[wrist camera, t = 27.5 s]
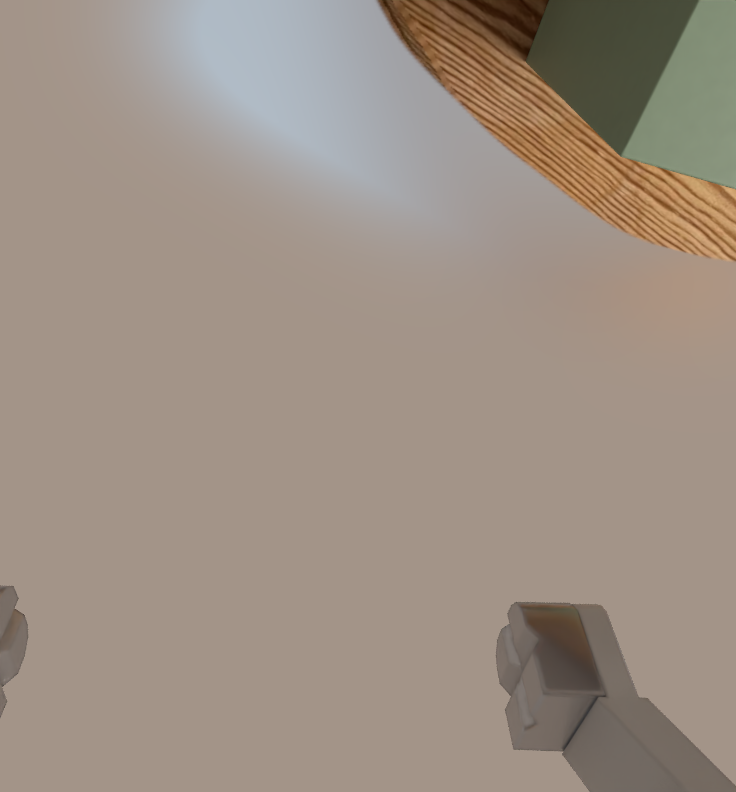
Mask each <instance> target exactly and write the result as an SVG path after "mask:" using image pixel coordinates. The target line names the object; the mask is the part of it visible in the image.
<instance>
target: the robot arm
mask: <svg viewBox="0 0 736 792" xmlns="http://www.w3.org/2000/svg"><path fill="white" fill-rule="evenodd" d="M17 601H18V596H17V594H16V591H15V589H14V586H0V717H1V715H2V712H3V710H4V708H5V705H6V703H7V699H6V697H5V694H4V691H3V688H2V687H3V686H4V685H5V684H6V683H7V682H9V681H10V680H11V679H12V678H13V677H14V676H15V675H17V674H18V672H19V669H20V667H21V664H22V661H23V659H24V656H25V651H26V645H27V640H28V625H27V621H26V619H25V615H24V614H22V613H21V612H19V611H18V610H16V609H15V606H16V603H17ZM508 619H509V623H510V624H508V625H507V626H505V627H504V628H502V629H501V631H500V634H499V637H498V640H497V649H496V662H497V671H498V677H499V682H500V684H501V686H502V687H503V688H504V689H505V690H506V691H507V692H508V693H509V695H510V696H511V698H510V700H509V702H508V704H507V707H506V709H505V711H506V716H507V721H508V725H509V731H510V735H511V740H512V745H513V749H515V750H541V751H564V752H563V756H564V757H565V759H566V760H567V761H568V762H569V764H570V765H571V767H572V768H573V770H574V771H575V772H576V774H577V775H578V776H579V778H580V779H581V780H582V782H583V783H584V785H585V786H586V787H587V789H588V790H589V791H590V792H736V786H735V785H734V784H733V783H732V782H731V781H730V780H729V779H728V778H727V777H726V776H725V775H724V774H723V773H722V772H721V771H720V770H719V769H718V768H717V767H716V766H715V765H714V764H713V763H712V762H711V761H710V760H709V759H708V758H707V757H706V756H705V755H704V754H703V753H702V752H701V751H700V750H699V749H698V748H697V747H696V746H695V745H694V744H693V743H692V742H691V741H690V740H689V739H688V738H687V737H686V736H685V735H684V734H683V733H682V732H681V731H680V730H679V729H678V728H677V727H676V726H675V725H674V724H673V723H672V722H671V721H670V720H669V719H668V718H667V717H666V716H665V715H664V714H663V713H662V712H661V711H660V710H659V709H658V708H657V707H656V706H655V705H654V704H653V703H652V702H651V701H650V700H649V699H648V698H639V697H638V694H637V691H636V689H635V687H634V683H633V681H632V678H631V676H630V673H629V670H628V667H627V665H626V662H625V659H624V657H623V654H622V652H621V649H620V646H619V643H618V641H617V638H616V635H615V633H614V630H613V627H612V625H611V622H610V620H609V617H608V614H607V612H606V610H605V609H604V608H603V607H602V606H601V605H597V604H570V603H535V602H531V603H530V602H516V603H514V604H512V605H511V607H510V609H509V612H508Z"/></svg>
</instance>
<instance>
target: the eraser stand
mask: <svg viewBox="0 0 736 792" xmlns="http://www.w3.org/2000/svg"><path fill="white" fill-rule="evenodd" d="M526 63H527V64H528V65H529V66H530V67H531V68H532V69H533V70H534V71H535V72H536V73H537V74H538V75H539V76H540V77H541V78H542V79H543V80H544V81H545V82H546V83H547V84H548V85H549V86H550V87H551V88H552V89H553V90H554V91H555V92H556V93H557V94H558V95H559V96H560V97H561V98H562V99H563V100H564V101H565V102H566V103H567V104H568V105H569V106H570V107H571V108H572V109H573V110H574V111H575V112H576V113H577V114H578V115H579V116H580V117H581V118H582V119H583V120H584V121H585V122H586V123H588V124H589V125H590V126H591V127H592V128H593V129H594V130H595V131H596V132H597V133H598V134H599V135H600V136H601V137H602V138H603V139H604V140H605V141H606V142H607V143H608V144H609V145H610V146H611V147H612V148H613V149H614V150H615V151H616V152H617V153H618V154H619V155H620V156H621V157H624V158H627V159H631V160H634V161H638V162H641V163H645V164H649V165H652V166H656V167H659V168H663V169H666V170H670V171H673V172H677V173H680V174H684V175H687V176H691V177H694V178H698V179H701V180H705V181H708V182H712V183H715V184H719V185H723V186H726V187H730V188H733V189H736V0H549V1H548V4H547V7H546V9H545V12H544V15H543V17H542V20H541V22H540V25H539V28H538V30H537V33H536V36H535V38H534V41H533V43H532V46H531V49H530V51H529V54H528V57H527V59H526Z"/></svg>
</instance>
